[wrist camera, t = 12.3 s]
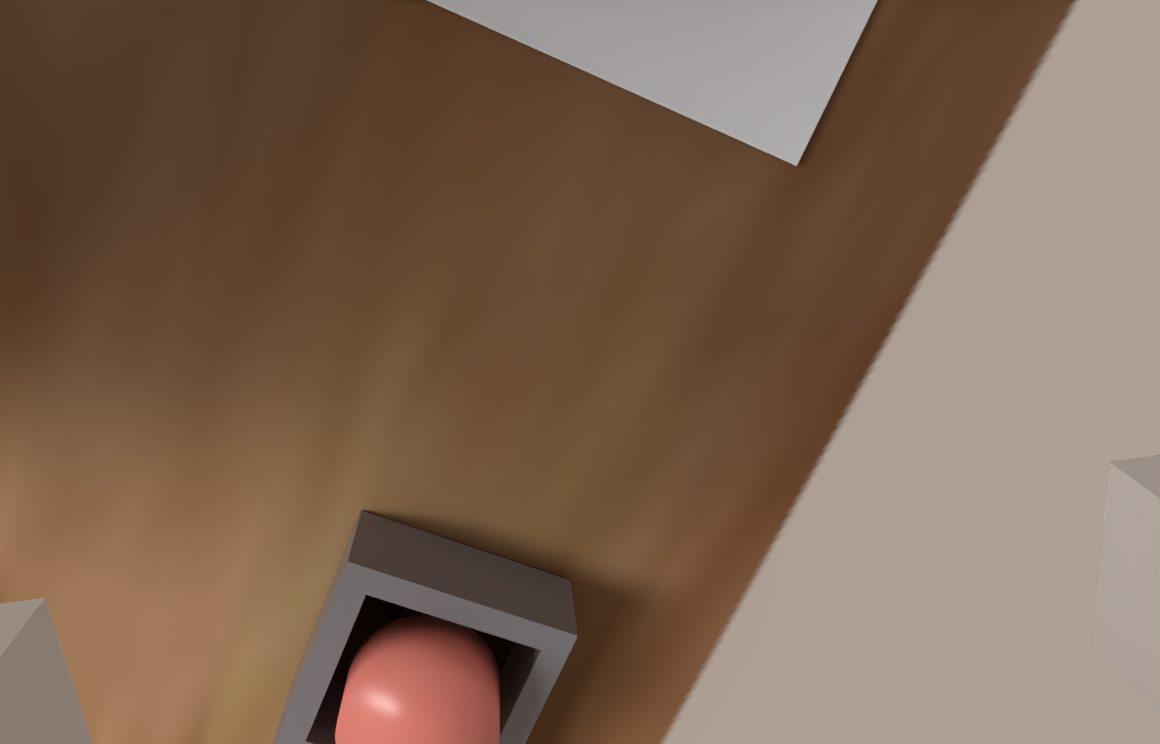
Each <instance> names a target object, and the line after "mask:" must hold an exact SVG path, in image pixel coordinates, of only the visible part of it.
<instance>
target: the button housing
mask: <svg viewBox="0 0 1160 744" xmlns="http://www.w3.org/2000/svg"><path fill="white" fill-rule="evenodd" d="M366 595H369V596H372V597H375V598H378V599H381V600H384V601H388V602H391V603H394V604H397V605H400V606H403V607H406V608H410V609H413V610H416V611H419V612H422V613H425V614H429V615H432V616H435V617H438V618H441V619H444V620H447V621H451V622H454V623H457V624H460V625H463V626H466V627H469V628H473V629H476V630H479V631H482V632H485V633H488V634H491V635H495V636H498V637H501V638H504V639H507V640H510V641H513V642H514V644H513V646H512V648H511V650H510V652H509V654H508V656H507V658H506V661H505V663H504V665H503V667H502V669H501V671H500V673H499V680H500V739H499V744H525V743H526V741H527V739H528V737H529V735H530V733H531V731H532V729H533V727H534V725H535V723H536V721H537V719H538V717H539V715H540V713H541V710H542V708H543V706H544V704H545V702H546V700H547V698H548V696H549V694H550V692H551V690H552V688H553V686H554V684H555V682H556V680H557V678H558V676H559V674H560V672H561V670H562V668H563V666H564V664H565V662H566V660H567V658H568V655H569V653H570V651H571V649H572V647H573V645H574V643H575V641H576V639H577V637H578V632H577V625H576V617H575V610H574V602H573V595H572V587H571V580H568V579H565V578H562V577H559V576H556V575H553V574H550V573H547V572H544V571H541V570H538V569H535V568H532V567H529V566H526V565H524V564H521V563H518V562H515V561H512V560H509V559H506V558H503V557H500V556H497V555H494V554H491V553H488V552H485V551H482V550H479V549H476V548H473V547H470V546H467V545H464V544H461V543H458V542H455V541H452V540H449V539H446V538H443V537H440V536H437V535H434V534H431V533H428V532H425V531H422V530H419V529H416V528H413V527H410V526H407V525H404V524H401V523H398V522H395V521H392V520H389V519H386V518H383V517H380V516H377V515H374V514H371V513H368V512H365V511H362V510H361V513H360V515H359V518H358V521H357V523H356V526H355V528H354V531H353V533H352V536H351V538H350V541H349V543H348V546H347V548H346V551H345V553H344V556H343V558H342V561H341V563H340V566H339V568H338V571H337V573H336V576H335V578H334V581H333V583H332V586H331V588H330V591H329V593H328V596H327V598H326V601H325V603H324V606H323V608H322V611H321V613H320V616H319V618H318V621H317V623H316V626H315V628H314V631H313V633H312V636H311V638H310V641H309V643H308V646H307V648H306V651H305V653H304V656H303V658H302V661H301V663H300V666H299V668H298V671H297V673H296V676H295V678H294V681H293V683H292V686H291V688H290V691H289V694H288V698H287V701H286V704H285V707H284V711H283V714H282V717H281V720H280V724H279V727H278V730H277V733H276V737H275V740H274V743H273V744H336V742H335V731H336V725H337V720H338V715H339V711H340V706H341V702H342V698H343V693H344V689H345V684H344V683H340V682H337V681H334V680H331V678H332V676H333V674H334V671H335V669H336V666H337V664H338V661H339V659H340V657H341V654H342V652H343V649H344V647H345V644H346V642H347V640H348V637H349V635H350V632H351V630H352V627H353V625H354V623H355V620H356V618H357V615H358V613H359V611H360V608H361V606H362V603H363V601H364V598H365V596H366Z"/></svg>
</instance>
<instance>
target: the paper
mask: <svg viewBox="0 0 1160 744" xmlns="http://www.w3.org/2000/svg"><path fill="white" fill-rule="evenodd" d="M427 1H429V2H432V3H434V4H436V5H438V6H441V7H443V8H445V9H447V10H449V11H452V12H454V13H456V14H458V15H461V16H463V17H465V18H467V19H470V20H472V21H474V22H476V23H478V24H481V25H483V26H485V27H487V28H490V29H492V30H494V31H496V32H499V33H501V34H503V35H505V36H508V37H510V38H512V39H514V40H516V41H519V42H521V43H523V44H525V45H528V46H530V47H532V48H534V49H537V50H539V51H541V52H543V53H545V54H548V55H550V56H552V57H554V58H557V59H559V60H561V61H563V62H566V63H568V64H570V65H572V66H574V67H577V68H579V69H581V70H583V71H586V72H588V73H590V74H592V75H595V76H597V77H599V78H601V79H603V80H606V81H608V82H610V83H612V84H615V85H617V86H619V87H621V88H624V89H626V90H628V91H630V92H633V93H635V94H637V95H639V96H641V97H644V98H646V99H648V100H650V101H653V102H655V103H657V104H659V105H662V106H664V107H666V108H668V109H670V110H673V111H675V112H677V113H679V114H682V115H684V116H686V117H688V118H691V119H693V120H695V121H697V122H699V123H702V124H704V125H706V126H708V127H711V128H713V129H715V130H717V131H720V132H722V133H724V134H726V135H728V136H731V137H733V138H735V139H737V140H740V141H742V142H744V143H746V144H749V145H751V146H753V147H755V148H757V149H760V150H762V151H764V152H766V153H769V154H771V155H773V156H775V157H778V158H780V159H782V160H784V161H787V162H789V163H791V164H793V165H795V166H797V165H798V163H799V160H800V158H801V156H802V154H803V152H804V150H805V148H806V146H807V144H808V142H809V140H810V138H811V136H812V134H813V132H814V130H815V128H816V126H817V124H818V121H819V119H820V117H821V115H822V113H823V111H824V109H825V107H826V105H827V103H828V101H829V99H830V97H831V95H832V93H833V91H834V89H835V87H836V85H837V83H838V80H839V78H840V76H841V74H842V72H843V70H844V68H845V66H846V64H847V62H848V60H849V58H850V56H851V54H852V52H853V50H854V48H855V46H856V44H857V41H858V39H859V37H860V35H861V33H862V31H863V29H864V27H865V25H866V23H867V21H868V19H869V17H870V15H871V13H872V11H873V9H874V7H875V5H876V3H877V0H427Z"/></svg>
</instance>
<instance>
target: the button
mask: <svg viewBox="0 0 1160 744" xmlns="http://www.w3.org/2000/svg"><path fill="white" fill-rule="evenodd" d="M499 739H500V680H499V668H498V664H497V661H496V658H495V656H494V653H493V652H492V650H491V648H490V647H489V645H488V644H487V643H486V642H485V641H484V639H483V638H482V637H481V636H479V635H478V634H477V633H476V632H475V631H473V630H472V629H470V628H469V627H466V626H463V625H460V624H457V623H454V622H451V621H447V620H444V619H441V618H438V617H435V616H429V615H419V616H410V617H405V618H401V619H397V620H394V621H392V622H389V623H387V624H385V625H383V626H381V627H380V628H378V629H376V630H375V631H374V632H372V633H371V634H370V635H369V636H368V637H367V638H366V639H365V640H364V641H363V642H362V643H361V644H360V646H359V647H358V648H357V650H356V652H355V654H354V656H353V658H352V660H351V663H350V667H349V671H348V675H347V680H346V684H345V689H344V693H343V698H342V702H341V706H340V711H339V715H338V720H337V725H336V731H335V742H336V744H499Z"/></svg>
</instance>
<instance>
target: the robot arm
mask: <svg viewBox="0 0 1160 744" xmlns="http://www.w3.org/2000/svg"><path fill="white" fill-rule="evenodd" d="M1091 646H1092V647H1093V648H1094V650H1096V652H1097V653H1098V654H1099V655H1100V656H1101V657H1102V658H1103V659H1104V660H1105V661H1106V662H1107V663H1108V664H1109V665H1110V666H1111V667H1112V669H1113V670H1114V671H1115V672H1116V673H1117V674H1118V675H1119V676H1120V677H1121V678H1122V679H1123V680H1124V681H1125V682H1126V683H1127V684H1128V685H1129V686H1130V687H1131V689H1132V690H1133V691H1134V692H1135V693H1136V694H1137V695H1138V696H1139V697H1140V698H1141V699H1142V700H1143V701H1144V702H1145V703H1146V704H1147V705H1148V706H1149V707H1150V708H1151V709H1152V711H1153V712H1154V713H1156V715H1157V716H1158V717H1159V718H1160V455H1159V456H1151V457H1143V458H1135V459H1128V460H1119V461H1112V462H1109V466H1108V477H1107V488H1106V498H1105V509H1104V519H1103V530H1102V540H1101V551H1100V561H1099V572H1098V583H1097V593H1096V603H1095V614H1094V624H1093V635H1092V645H1091ZM0 744H92V741H91V738H90V735H89V732H88V729H87V726H86V723H85V720H84V717H83V714H82V710H81V707H80V704H79V701H78V698H77V695H76V692H75V689H74V686H73V683H72V680H71V677H70V674H69V671H68V668H67V665H66V662H65V658H64V655H63V652H62V649H61V646H60V643H59V640H58V637H57V634H56V631H55V628H54V625H53V622H52V619H51V616H50V613H49V610H48V606H47V603H46V600H45V598H42V599H34V600H26V601H18V602H10V603H2V604H0Z"/></svg>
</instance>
